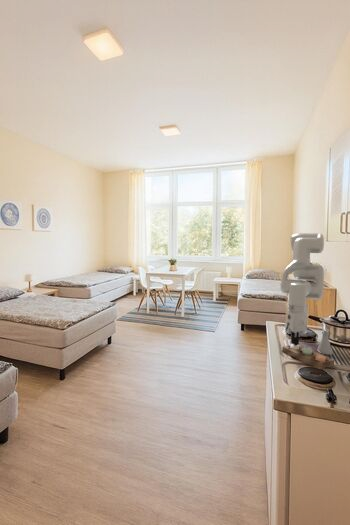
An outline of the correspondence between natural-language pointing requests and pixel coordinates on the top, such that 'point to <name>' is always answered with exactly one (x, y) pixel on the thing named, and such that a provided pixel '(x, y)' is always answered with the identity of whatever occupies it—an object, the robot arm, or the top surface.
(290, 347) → the button
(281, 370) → the top surface
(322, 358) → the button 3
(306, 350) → the button
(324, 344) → the flask
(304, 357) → the panel
